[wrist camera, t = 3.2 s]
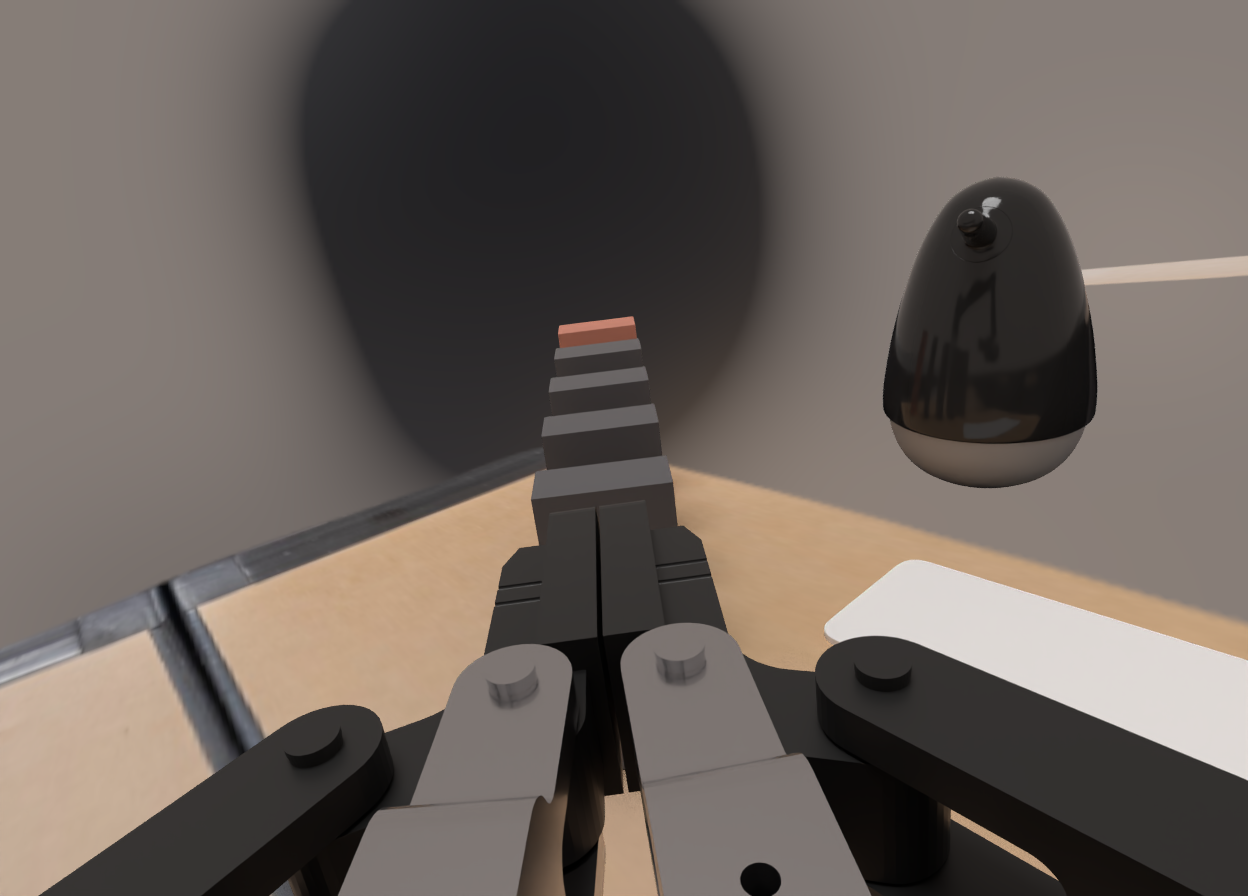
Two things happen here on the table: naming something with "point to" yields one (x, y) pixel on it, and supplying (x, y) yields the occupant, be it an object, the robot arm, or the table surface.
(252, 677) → the table surface
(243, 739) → the table surface
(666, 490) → the domino
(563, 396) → the domino
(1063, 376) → the black egg shape
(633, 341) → the domino
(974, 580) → the smartphone
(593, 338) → the domino
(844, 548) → the table surface
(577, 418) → the domino
